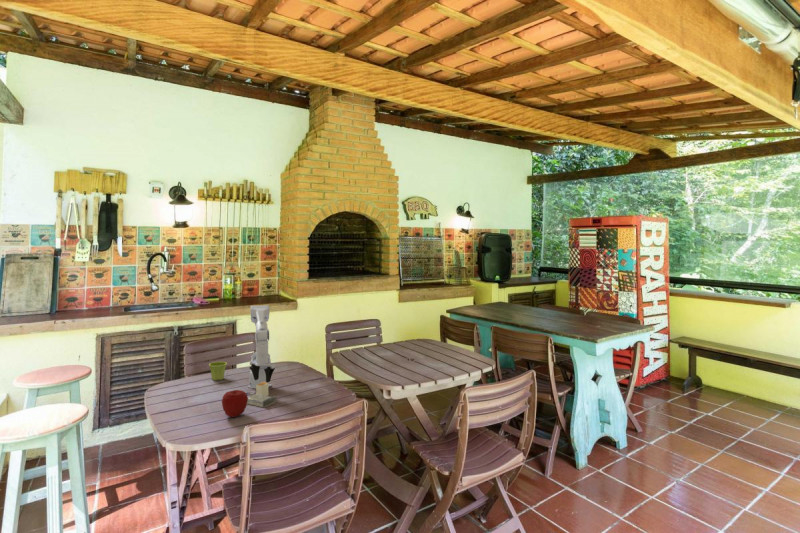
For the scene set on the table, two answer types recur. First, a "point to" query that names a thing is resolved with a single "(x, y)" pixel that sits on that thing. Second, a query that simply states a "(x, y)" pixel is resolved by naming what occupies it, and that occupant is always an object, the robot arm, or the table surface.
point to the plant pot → (217, 370)
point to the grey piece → (260, 400)
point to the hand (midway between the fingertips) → (262, 380)
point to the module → (262, 388)
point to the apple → (234, 403)
